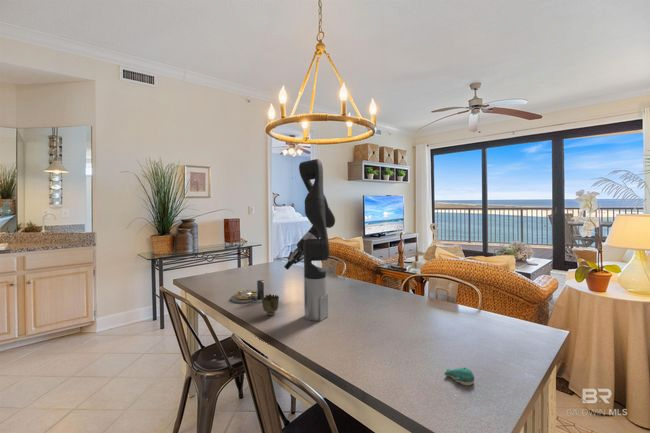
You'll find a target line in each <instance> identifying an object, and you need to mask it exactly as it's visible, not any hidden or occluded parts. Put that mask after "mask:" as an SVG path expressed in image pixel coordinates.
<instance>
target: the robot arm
mask: <svg viewBox="0 0 650 433" xmlns="http://www.w3.org/2000/svg"><path fill="white" fill-rule="evenodd" d="M298 171H299V175H300V177H301V180H302V182H303V184H304V186H305V188H306V190H307V194H306V196H305V198H304V214H305V216H306V218H307V219H308V221H309V222H310V224H312V226H311V227H310V228H309V230H308V231H307V232H306V233H304V234H303V236H302V237H301V238H300V240H299V241H297V243H296V248H295V249H294V250H293V251H290V252H289V255H288V257H287V263H285V265H284V266H283V267H284V268H285V270H289V269H290V268H291V267H292V266H293V265H294V264H295V265H296V264H298V263H300V262H301V261H303V266H304V267H303V268H304V269H303V276H304V277H303V280H304V284H303V285H304V287H303V288H304V289H303V290H304V292H303V293H304V294H303V295H304V296H303V297H304V299H303V300H304V303H303V304H304V318H305V319H306V320H309V321H320V322H321V321H323V320H324V319H327V318H328V317H329V295H328V293H327V271H326V269H324V268H322V267H320V266H317V265H315V264H313V262H318V261H319V262H320V261H328V260H329V258H330V244H329V237H328V236H329V235H328V231H327V230H328V228H329V229H330V228H331V229H332V228H333V227H334V225H335V223H336V219H335V218H336V217H335V216H334V213H333V212H332V210H331V209H330V207H329V204H328V201H327V198H326V196H325V194H324V168H323V163H322V161H321V160H320V159H318V158H316V159H310V160H306V161H302V162H300V163H299V165H298ZM311 180H314V181H313V182H312V181H311Z"/></svg>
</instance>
